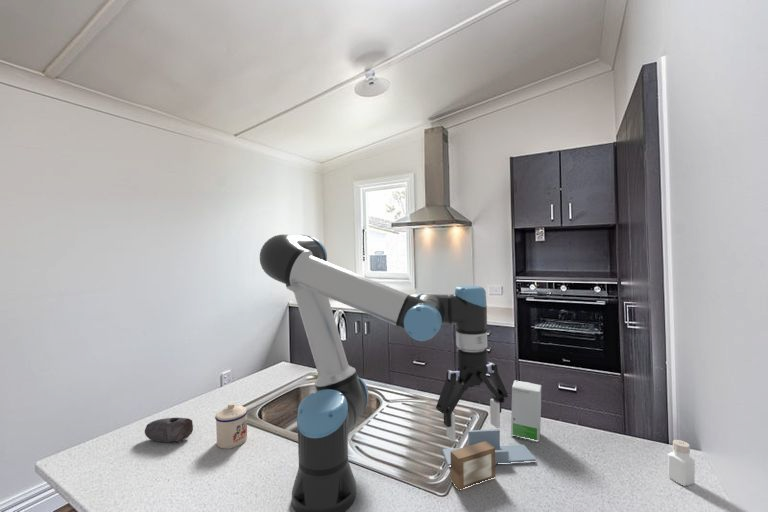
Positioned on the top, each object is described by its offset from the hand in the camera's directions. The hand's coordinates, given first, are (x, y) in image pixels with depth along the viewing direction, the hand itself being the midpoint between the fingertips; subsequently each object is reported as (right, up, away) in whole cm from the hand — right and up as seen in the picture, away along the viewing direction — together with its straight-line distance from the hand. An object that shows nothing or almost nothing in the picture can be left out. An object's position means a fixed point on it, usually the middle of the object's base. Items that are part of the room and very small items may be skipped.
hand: (473, 432), depth 88 cm
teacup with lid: (-69, -13, +22) cm, 74 cm away
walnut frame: (0, -13, 0) cm, 13 cm away
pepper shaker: (+51, -12, -1) cm, 52 cm away
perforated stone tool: (-90, -14, +22) cm, 94 cm away
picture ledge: (+6, -12, +10) cm, 17 cm away
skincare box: (+22, -12, +21) cm, 33 cm away
